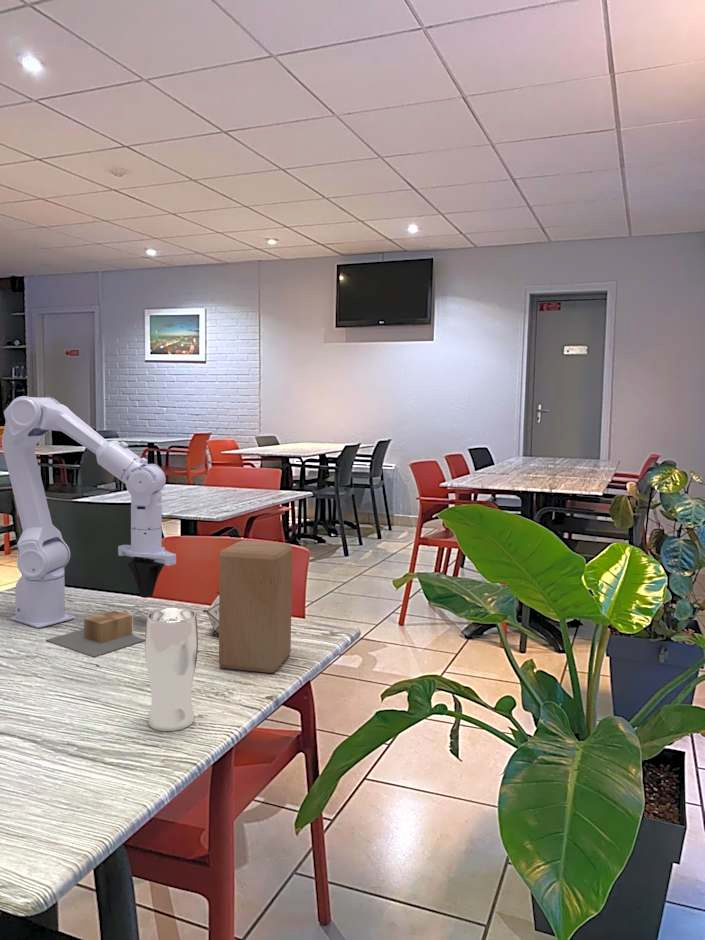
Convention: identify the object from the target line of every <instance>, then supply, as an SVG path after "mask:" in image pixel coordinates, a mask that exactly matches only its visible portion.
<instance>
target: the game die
mask: <svg viewBox="0 0 705 940" xmlns="http://www.w3.org/2000/svg"><path fill="white" fill-rule="evenodd" d="M216 594H217V596H216V598H215V599H214V601H213V602H212V603H211V605H210V606H209V607H208V609H207V610H206V609H203V610H202V612H203V613H205V614H207V616H208V618H209V621H210V623H211V627H212V628H213V632H211V635H212V636H214V635H215V634H216V633H219V589H217V591H216Z"/></svg>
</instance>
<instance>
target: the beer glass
mask: <svg viewBox="0 0 705 940" xmlns="http://www.w3.org/2000/svg"><path fill="white" fill-rule="evenodd" d="M198 630H199V629H198V620H197V612H196V611H195V610H193V609H189V608H185V607H167V608H159V609H156V610H153V611H151V612H149V613H147V615H146V622H145V635H144V636H145V637H144V639H145V641H144V654H145V655H144V657H145V664H146V670H147V671H146V672H147V675H148V681H149V686H150V691H151V692H150V693H151V705H150V711H149V716H148V725H149V727H150V728H151V729H153V730H155V731H158V732H176V731H180V730H183V729H186V728H188V727H190V726H191V725H192V724H193V723H194V722H195V714H194V709H193V702H192V690H193V683H194V678H195V673H196V668H197V667H196V666H197V661H198V660H197V659H198V654H199V653H198V652H199V651H198V650H199V635H198V634H199V633H198Z"/></svg>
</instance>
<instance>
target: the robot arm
mask: <svg viewBox="0 0 705 940" xmlns="http://www.w3.org/2000/svg"><path fill="white" fill-rule="evenodd" d="M3 415H4V419H5V424H4V429H3V433H2V437H1V447H2V448H1V449H2V452H3V456H4V459H5V463H6V468H7V471H8V475H9V479H10V484H11V489H12V493H13V496H14V497H13V498H14V500H15V504H16V508H17V513H18V516H19V520H20V521H19V522H20V525H21V529H22V533H21V535H20V537H19V538H18V541H17V544H16V545H17V549H18V555H17V559H16V565H17V568H18V571H19V573H20V574H21V575H22V576H20V577H19V578H18V580H17V582H16V584H15V588H14V599H15V602H14V603H15V605H14V606H15V607H14V608H15V615H14V616H11V617H10V618H11V620H12V621H15V622H19V623H22V624H24V625H27V626H31V627H33V628H37V629H39V628H40V629H41V628H43V627H48V626H51V625H55V624H59V623H64V622H67V621H70V620H74V619H75V616H74V615H72V614H69V613H66V612H65V611H66V608H65V607H66V606H65V605H66V604H65V603H66V602H65V601H66V600H65V599H66V598H65V597H66V595H65V585H66V584H65V567H66V566H67V565H68V563H69V561H70V559H71V550H70V547H69V546H68V544H67V543H66V542H65V540H64V538H63V535H62V532H61V531H60V530H59V529H58V528H57V527H56V526H55V525H54V524H53V521H52V516H51V513H50V509H49V505H48V500H47V496H46V492H45V488H44V484H43V480H42V475H41V471H40V468H39V464H38V458H37V455H36V450H35V447H36V446H37V444H38V443H39V441H40V440H41V439H42V438H43V436H44V435H46V434H48V433H49V432H50V431H56V432H62V434H65V435H66V436H68V437H70V438H71V439H72V440H74V441H75V442H77V443H78V444H80V445H82V446H83V447H84V448H85V449H87V450H89V451H91V452H92V453H93V454H94V455H95V457H96V461H97V462H96V463H97V465H99V466H100V467H102V469H105V470H106V471H107V472H109V473H110V474H111V475H113V476H114V477H115V478H117V479H118V480H119V481H120V482H122V483H123V484H125V488H126V489H127V491H128V493H129V494H130V544H121V545H118V547H117V556H119V557H123V556H126V557H128V558H129V557H130V558H133V560H130V561H128V562H127V566H128V568H129V570H130V571H131V573H132V575H133V577H134V580H135V583H136V585H137V590H138V593H139V597H140V598H143V599H147V598H151V597H153V596H154V591H155V588H156V584H157V580H158V578H159V575H160V573H161V572H162V570H163V568H164V567H165V566H168V567H170V566H173V565H176V564H177V554H176V553H173V552H170V551H169V550H166V548H165V547H164V546H163V544H162V542H163V541H162V540H163V539H162V538H163V537H162V535H163V533H162V531H163V530H162V528H163V527H162V526H163V523H162V518H163V517H162V516H163V515H162V514H163V510H162V509H163V508H162V507H163V503H162V490H163V489H164V487H165V485H166V482H167V481H166V480H167V479H166V478H167V477H166V474H165V472H164V471H163V470H162V468H161V467H160V466H159V465H158V464H155V463H148V459H147V458H146V457H142V458H141V457H140V456H139V455H137V454H136V453H135V452H134V451H132V450H131V449H129V448H128V447H129V444H128V443H127V442H125V441H118V440H116V439H115V440H107V439H105V438H104V437H103V436H102V434H99V433H98V432H97V431H96V430H95V429H93V428H92V427H91V426H90V425H89V424H87V423H86V422H84V421H83V420H82V419H81V418H80V417H79V416H77V415H76V414H75V413H74V412H73V411H72V410H70V409H69V407H68V406H66V405H64V404H62V403H60V402H59V401H58V400H56V399H55V398H54V397H50V396H45V397H43V396H42V397H34V396H32V397H31V396H27V395H22V396H18V397H16V398H14V399H13V400H11V402H10V404H9V405H8V406H7V407H6V408H5V409H4V410H3Z"/></svg>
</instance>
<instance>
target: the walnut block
mask: <svg viewBox="0 0 705 940" xmlns="http://www.w3.org/2000/svg"><path fill="white" fill-rule="evenodd" d="M83 629H84V638H86V639H89V640H92V641H95V642H98V643H105V642H108V641H111V640H114V639H118V638H121V637H124V636H127V635H134V614H132V613H127V612H125V611H120V610H117V609H115V610H111V611H107V612H104V613H101V614H97V615H93V616H89V617H86V618H85V617H84V618H83Z"/></svg>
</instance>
